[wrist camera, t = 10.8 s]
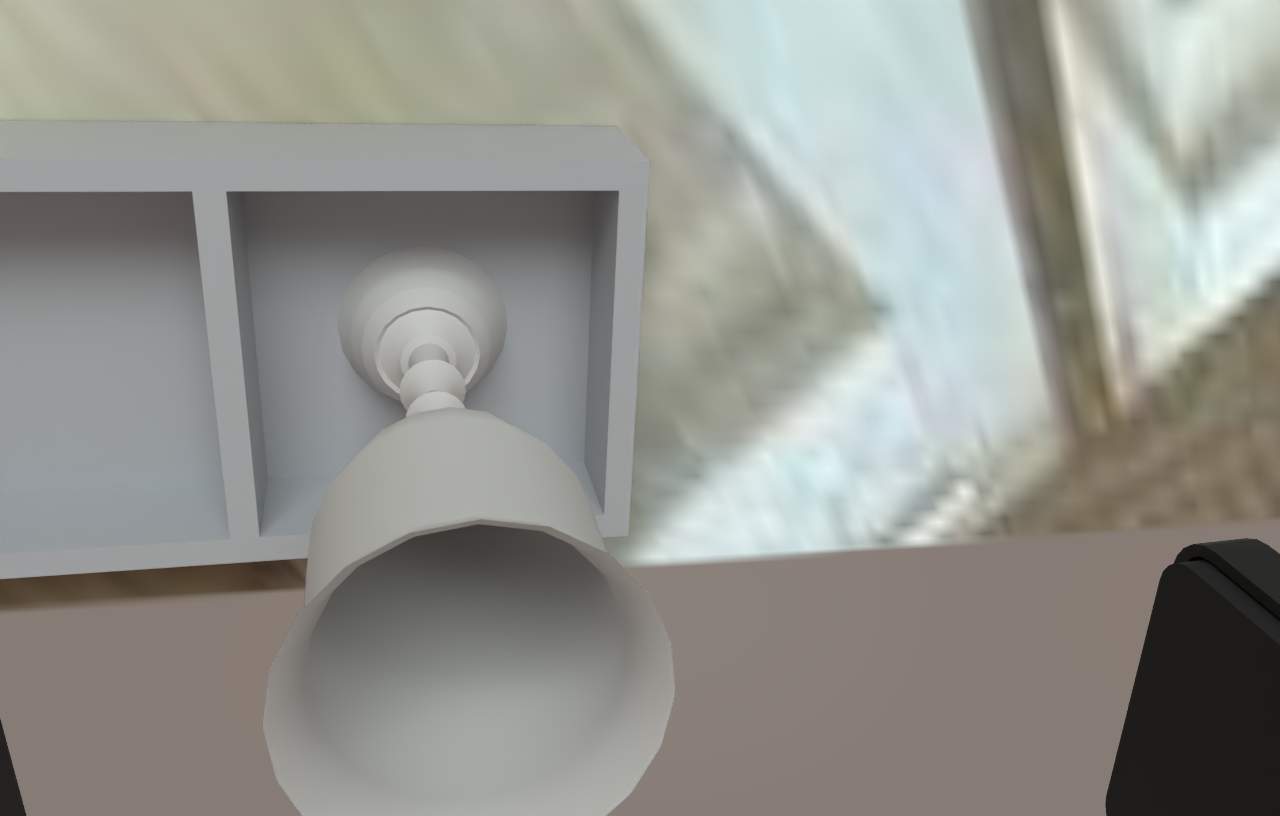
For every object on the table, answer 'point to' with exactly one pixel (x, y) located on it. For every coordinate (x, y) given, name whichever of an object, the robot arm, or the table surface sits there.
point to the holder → (284, 320)
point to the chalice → (459, 593)
